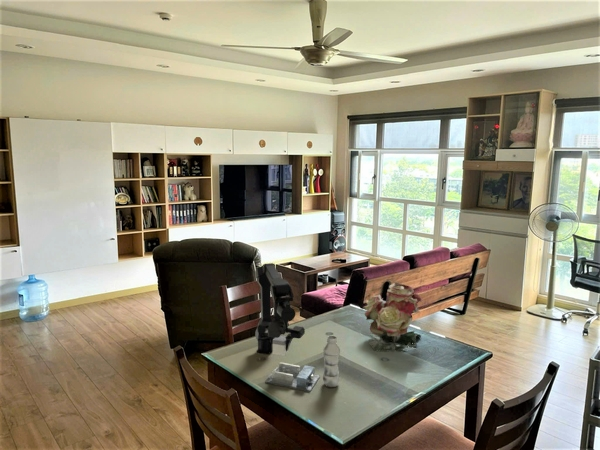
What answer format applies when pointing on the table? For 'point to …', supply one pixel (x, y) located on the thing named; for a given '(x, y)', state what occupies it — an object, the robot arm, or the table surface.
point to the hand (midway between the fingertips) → (280, 349)
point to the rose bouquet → (392, 319)
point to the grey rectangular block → (279, 346)
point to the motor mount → (293, 377)
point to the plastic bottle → (331, 362)
